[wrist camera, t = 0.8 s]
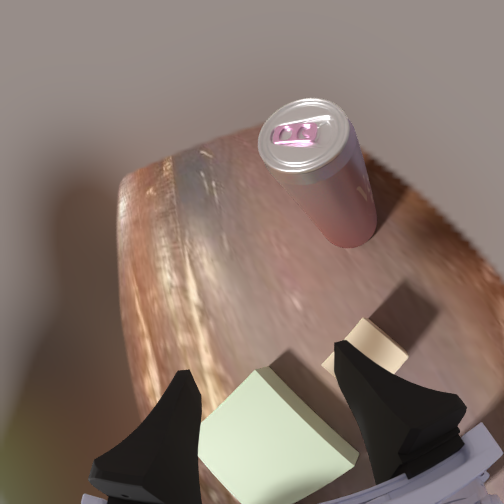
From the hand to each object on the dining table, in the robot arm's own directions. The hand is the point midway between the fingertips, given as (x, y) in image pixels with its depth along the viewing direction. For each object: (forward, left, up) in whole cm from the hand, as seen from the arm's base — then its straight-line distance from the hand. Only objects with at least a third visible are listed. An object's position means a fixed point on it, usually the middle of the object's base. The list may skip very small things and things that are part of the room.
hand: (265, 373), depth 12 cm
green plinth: (-3, +13, -14) cm, 20 cm away
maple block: (-3, -2, -14) cm, 15 cm away
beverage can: (+7, -11, -15) cm, 20 cm away
